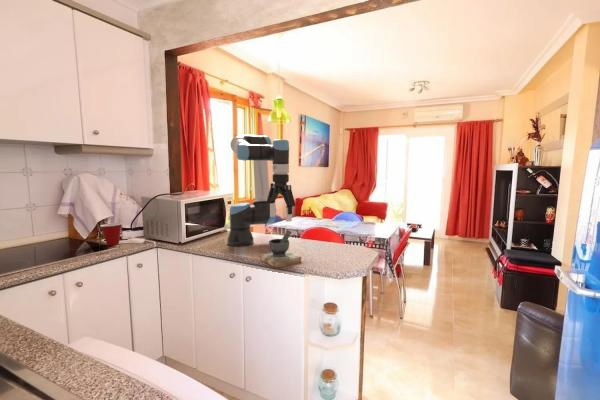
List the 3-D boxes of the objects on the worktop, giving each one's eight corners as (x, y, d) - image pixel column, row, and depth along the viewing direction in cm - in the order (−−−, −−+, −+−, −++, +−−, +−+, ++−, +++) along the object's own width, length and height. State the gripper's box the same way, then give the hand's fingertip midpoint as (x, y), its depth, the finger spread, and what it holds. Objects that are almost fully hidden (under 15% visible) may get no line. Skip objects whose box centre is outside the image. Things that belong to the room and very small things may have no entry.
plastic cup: (117, 241, 174) (115, 221, 173) (127, 243, 169) (126, 222, 168) (97, 245, 165) (95, 224, 163) (108, 247, 160) (106, 226, 158)
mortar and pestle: (272, 259, 133) (272, 233, 132) (266, 253, 141) (265, 229, 140) (295, 256, 138) (295, 231, 137) (287, 251, 146) (287, 227, 145)
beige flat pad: (260, 259, 141) (260, 254, 141) (284, 254, 150) (284, 249, 149) (276, 267, 130) (276, 261, 130) (301, 261, 139) (301, 256, 138)
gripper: (260, 172, 143) (260, 215, 145) (289, 175, 123) (289, 224, 126) (273, 172, 147) (273, 214, 150) (303, 174, 128) (302, 222, 130)
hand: (280, 218), depth 138 cm, fingers open, 13 cm apart
